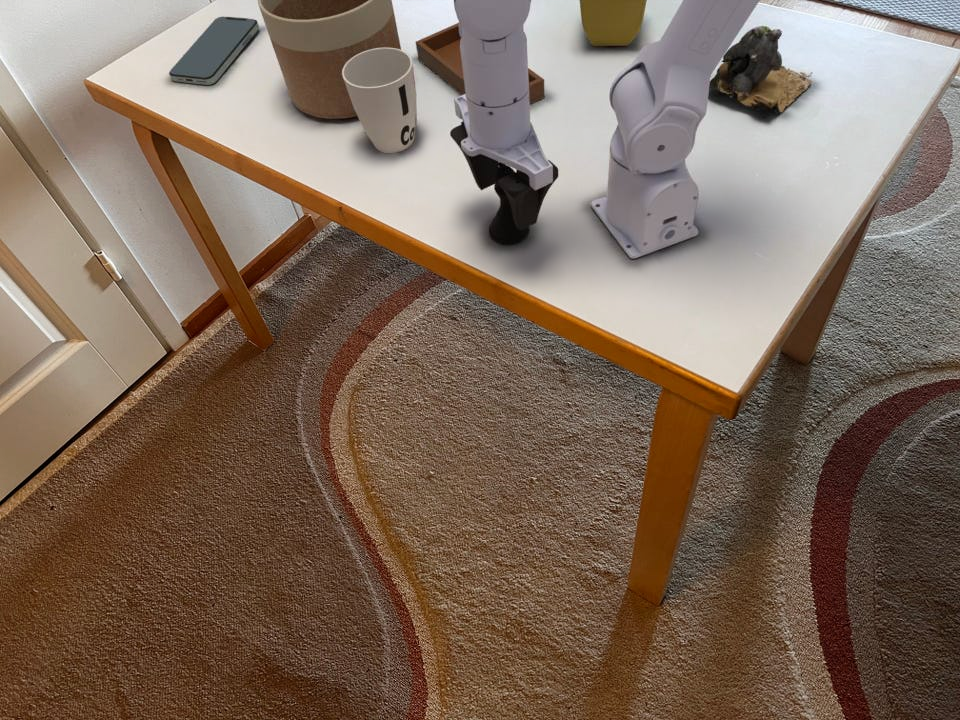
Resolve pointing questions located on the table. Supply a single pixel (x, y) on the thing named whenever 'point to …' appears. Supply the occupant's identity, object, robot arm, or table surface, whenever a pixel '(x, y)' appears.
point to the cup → (383, 96)
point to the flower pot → (612, 21)
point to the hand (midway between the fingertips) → (506, 204)
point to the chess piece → (505, 214)
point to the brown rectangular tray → (459, 61)
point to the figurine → (759, 72)
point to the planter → (325, 46)
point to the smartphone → (214, 50)
